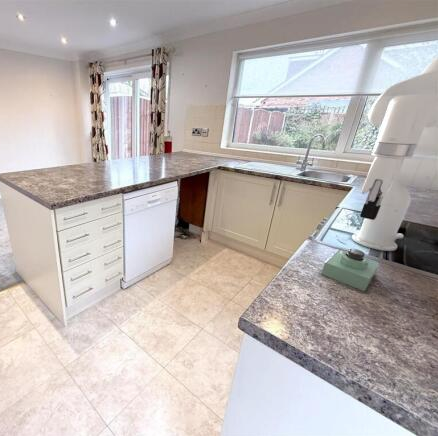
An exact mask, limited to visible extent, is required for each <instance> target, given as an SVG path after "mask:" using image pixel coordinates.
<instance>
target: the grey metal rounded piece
mask: <svg viewBox="0 0 438 436" xmlns="http://www.w3.org/2000/svg"><path fill="white" fill-rule="evenodd" d="M347 251H348V253H347V255H346V256H347V257H349V258H351V259H354V260H358V261H362V260H363V258H364V256H366V254H365V252H364V251H362V250H360V249H357V248H348V250H347Z"/></svg>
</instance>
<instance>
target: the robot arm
mask: <svg viewBox="0 0 438 436" xmlns="http://www.w3.org/2000/svg"><path fill="white" fill-rule="evenodd" d="M368 122H369V123H370V124H371V125H372V126H374V127H380V129H379V132H378V135H377V138H376V141H375V144H374V146H373V149H372V151H371V156H373V157H374V159H373V161H372V163H371V165H370V167H369V170H368V173H367V175H366V178H365V180H364V183H363V184H362V188H361V189H360V193H361V194H362V195H365V194H367V193H368V194H367V197H366V200H365V202H364V203H363V207H362V209H361V212H360V214H359V217H360V218H362V219H363V222H362V224H361V227H360V229H359V232H355V233H353V234H352V236H351V239H352V240H353V241H354V242H355V243H356V244H359V245H360V246H363V247H366V248H370V249H373V250H377V251H382V252H393V251H396V250H397V249H398V244H397V243H396V242H395V240H400V239H401V240H402V239H404V237H405V236H404V234H403V233H399V232H398V231H399V229H400V227H401V225H402V223H403V221H404V218H405V216H406V214H407V211H408V209H409V207H410V205H411V203H412V202H411V201H412V197H411V195H410V193H409V191H408V190H407V188H414V189H421V190H427V191H436V192H438V56H436V57H435V58H433V59H432V60H430V62H429V63H428V65H427V66H426V67H425V68H424V69H423V71H421V73H420V74H418V75H416V76H413V77H411V78H408V79H405V80H403V81H399V82H397V83H395V84H393V85H391V86H389V87H388V88H386V89H385V90H384V91H383V92H382V93H381V94H380V95H379V96H378V98H377V99H376V100H375V101H374V103H373V105H372V106H371V108H370V110H369V114H368Z"/></svg>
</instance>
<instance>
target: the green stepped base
mask: <svg viewBox="0 0 438 436" xmlns="http://www.w3.org/2000/svg"><path fill="white" fill-rule="evenodd" d="M347 253H348V250H341V249H337V250H336V251H335V252H333V254H332V255H330V257H329V258H328V259H326V261H325V262H324V265H323V267H322V270H321V273H320V275H323V276H324V277H328V278H330V279H332V280H335V281H337V282H339V283H342V284H345V285H347V286H350V287H352V288H355V289H357V290H360V291H362V292H365V291H366V290H367V288H368V286H369V285H370V283H371V282H372V280H373V278H374V276H375V274H376V272H377V271H378V268H379V266H380V262H377V261H374V260H372V259H370V258H369V257H367V256H366V255H364V258H363V260H362V261H358V260H354V259H351V258H349V257H347V256H346V255H347Z"/></svg>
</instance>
